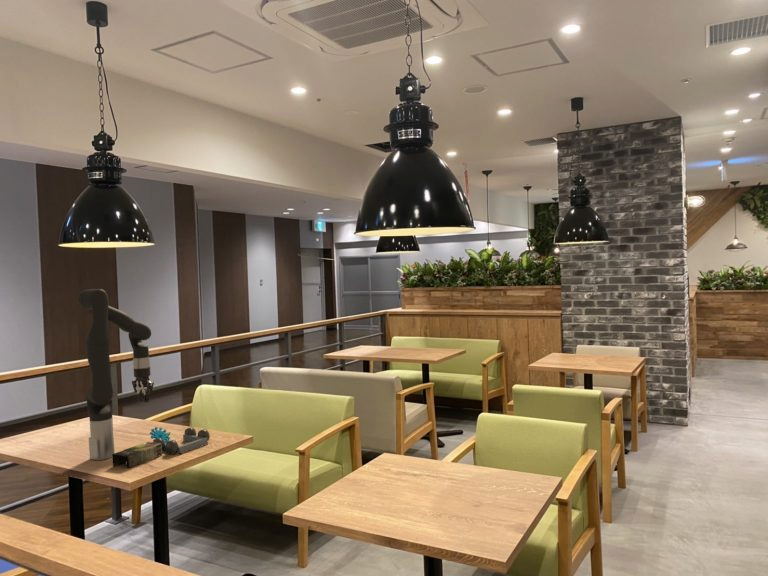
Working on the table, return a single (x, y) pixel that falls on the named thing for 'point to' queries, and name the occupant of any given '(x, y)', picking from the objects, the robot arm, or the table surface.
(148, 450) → the dark green hollow block
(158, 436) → the gear
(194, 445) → the chassis bay
